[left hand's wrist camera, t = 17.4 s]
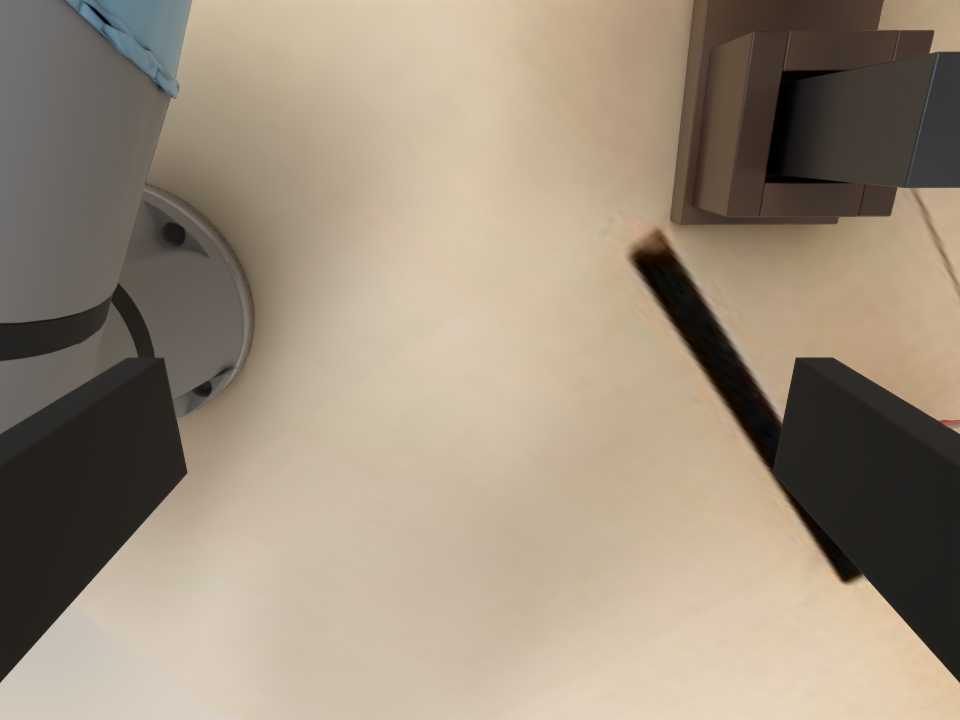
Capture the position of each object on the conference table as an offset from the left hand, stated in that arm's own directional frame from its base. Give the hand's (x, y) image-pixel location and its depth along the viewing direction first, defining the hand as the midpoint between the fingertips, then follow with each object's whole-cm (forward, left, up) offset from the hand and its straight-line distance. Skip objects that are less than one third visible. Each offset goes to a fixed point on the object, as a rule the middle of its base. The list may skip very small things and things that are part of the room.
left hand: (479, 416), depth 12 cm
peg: (+16, +6, -23) cm, 28 cm away
